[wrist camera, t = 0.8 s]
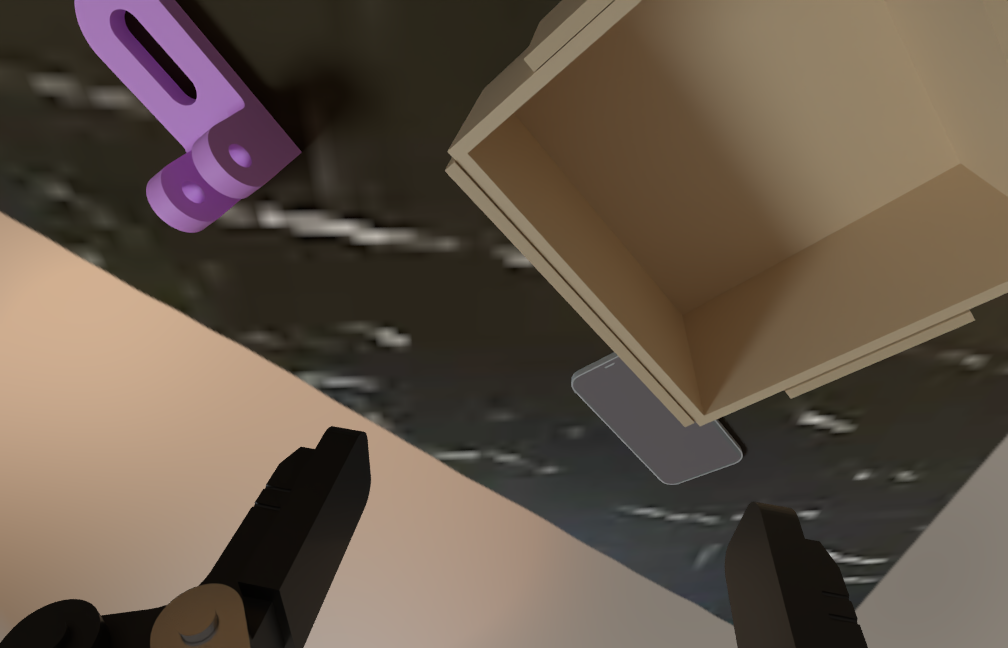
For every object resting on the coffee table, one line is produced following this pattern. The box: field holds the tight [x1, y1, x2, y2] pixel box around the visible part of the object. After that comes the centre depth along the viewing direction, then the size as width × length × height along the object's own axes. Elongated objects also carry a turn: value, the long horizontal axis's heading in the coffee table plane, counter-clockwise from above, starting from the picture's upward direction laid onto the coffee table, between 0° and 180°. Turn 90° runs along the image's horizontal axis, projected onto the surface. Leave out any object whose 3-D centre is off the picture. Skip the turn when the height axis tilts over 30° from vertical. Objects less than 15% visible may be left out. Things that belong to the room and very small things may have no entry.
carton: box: [445, 0, 1008, 427], centre depth 27 cm, size 21×19×10 cm
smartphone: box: [571, 352, 743, 485], centre depth 45 cm, size 7×1×15 cm
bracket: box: [75, 0, 302, 233], centre depth 31 cm, size 13×6×7 cm, turn 33°
